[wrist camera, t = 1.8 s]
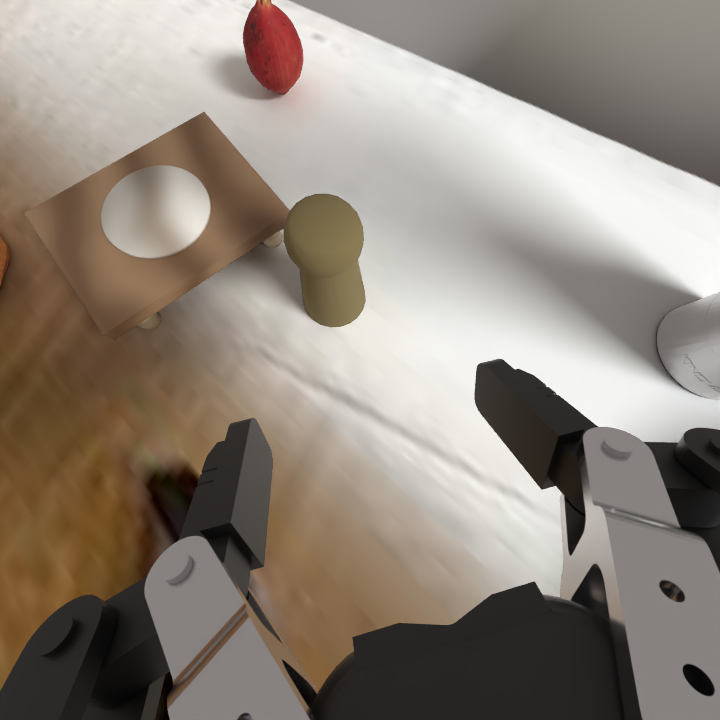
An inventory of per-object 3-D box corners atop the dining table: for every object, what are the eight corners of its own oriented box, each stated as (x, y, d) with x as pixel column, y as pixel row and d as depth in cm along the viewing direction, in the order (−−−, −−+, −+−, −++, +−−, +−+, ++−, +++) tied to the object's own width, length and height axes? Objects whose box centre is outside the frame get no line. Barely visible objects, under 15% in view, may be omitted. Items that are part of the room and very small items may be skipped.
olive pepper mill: (290, 299, 28) (248, 220, 17) (333, 258, 29) (319, 159, 18) (335, 339, 27) (322, 284, 16) (378, 296, 28) (392, 216, 17)
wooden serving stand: (224, 152, 31) (201, 107, 27) (299, 241, 29) (289, 208, 25) (71, 243, 29) (18, 209, 24) (142, 348, 27) (98, 333, 22)
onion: (277, 120, 32) (252, 24, 25) (247, 89, 33) (214, -13, 26) (317, 95, 33) (306, -6, 26) (288, 66, 34) (267, -40, 26)
